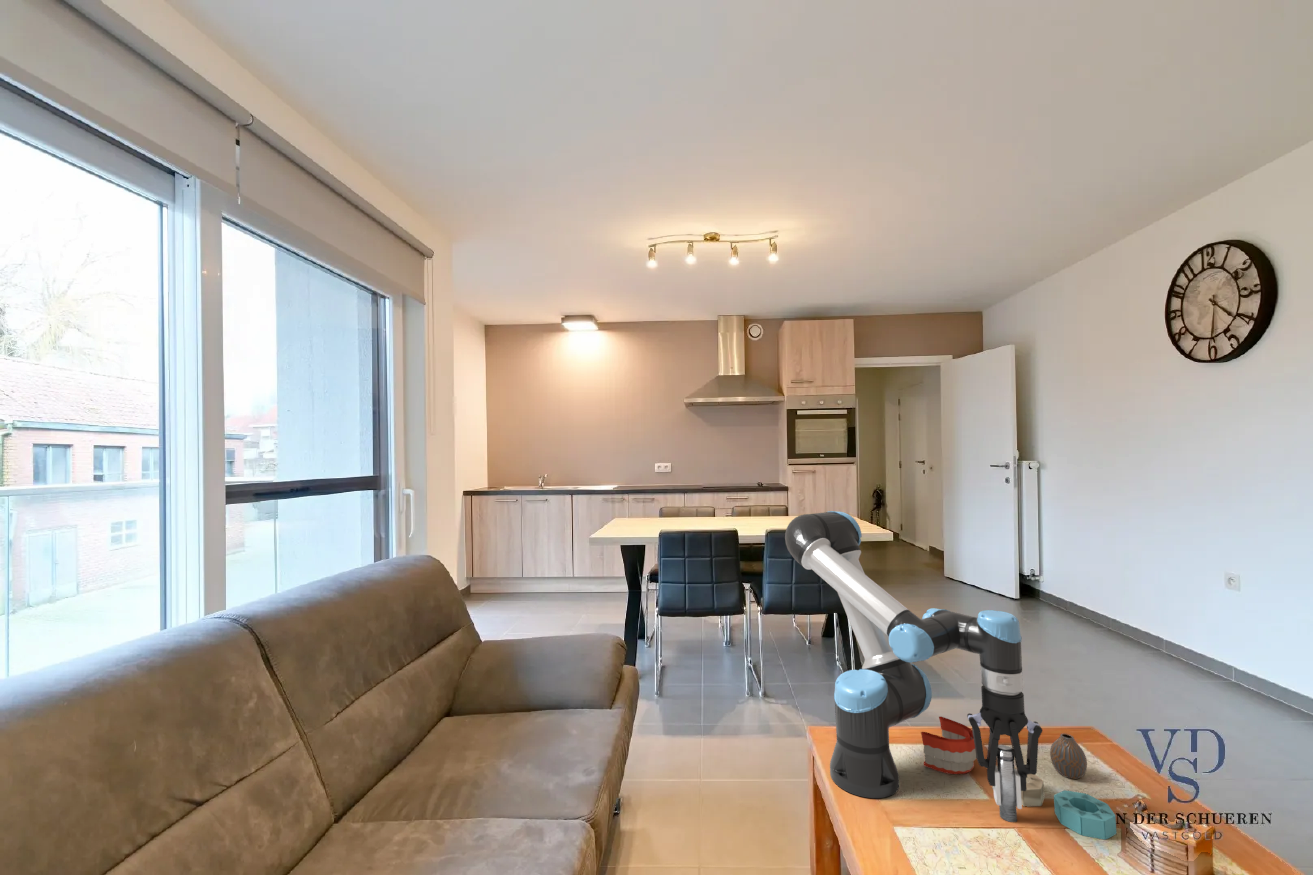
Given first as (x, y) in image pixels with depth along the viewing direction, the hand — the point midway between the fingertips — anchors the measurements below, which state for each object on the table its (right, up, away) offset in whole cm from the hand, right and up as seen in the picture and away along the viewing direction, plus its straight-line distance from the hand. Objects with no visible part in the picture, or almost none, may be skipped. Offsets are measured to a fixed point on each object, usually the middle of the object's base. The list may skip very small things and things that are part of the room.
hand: (1007, 802), depth 113 cm
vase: (+24, -3, +14) cm, 28 cm away
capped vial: (0, -3, 0) cm, 3 cm away
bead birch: (+7, -3, +8) cm, 11 cm away
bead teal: (+14, -2, -2) cm, 15 cm away
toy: (-1, -4, +19) cm, 20 cm away
